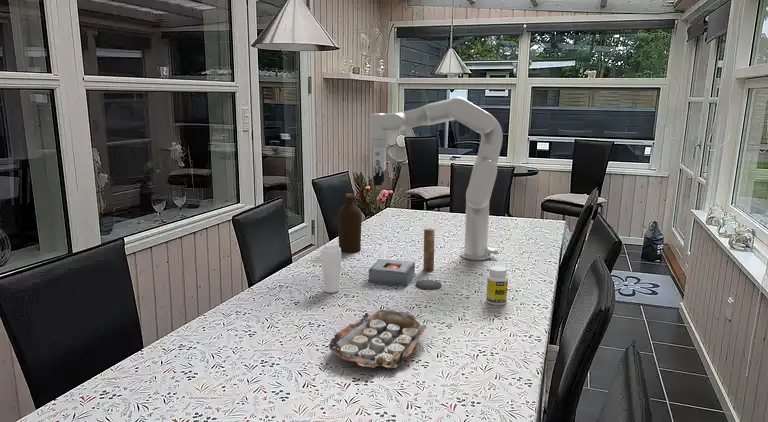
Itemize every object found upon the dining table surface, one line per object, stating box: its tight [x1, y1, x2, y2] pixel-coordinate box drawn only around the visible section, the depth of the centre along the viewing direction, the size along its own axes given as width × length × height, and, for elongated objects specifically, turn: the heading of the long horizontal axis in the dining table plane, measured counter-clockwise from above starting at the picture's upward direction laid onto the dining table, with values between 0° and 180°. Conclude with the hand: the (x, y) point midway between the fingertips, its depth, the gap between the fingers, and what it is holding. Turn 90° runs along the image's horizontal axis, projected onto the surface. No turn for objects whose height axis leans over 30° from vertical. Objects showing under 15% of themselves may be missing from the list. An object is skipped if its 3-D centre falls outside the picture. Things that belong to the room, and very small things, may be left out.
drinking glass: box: [320, 245, 342, 294], centre depth 179 cm, size 7×7×15 cm
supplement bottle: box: [485, 265, 509, 306], centre depth 170 cm, size 6×6×11 cm
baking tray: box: [328, 308, 427, 370], centre depth 137 cm, size 30×22×5 cm
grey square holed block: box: [368, 258, 416, 287], centre depth 193 cm, size 14×14×5 cm
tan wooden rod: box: [422, 227, 436, 272], centre depth 203 cm, size 4×4×16 cm
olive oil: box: [336, 193, 363, 254], centre depth 229 cm, size 11×11×25 cm
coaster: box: [415, 279, 442, 291], centre depth 186 cm, size 9×9×1 cm
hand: (379, 183), depth 225 cm, fingers open, 9 cm apart
